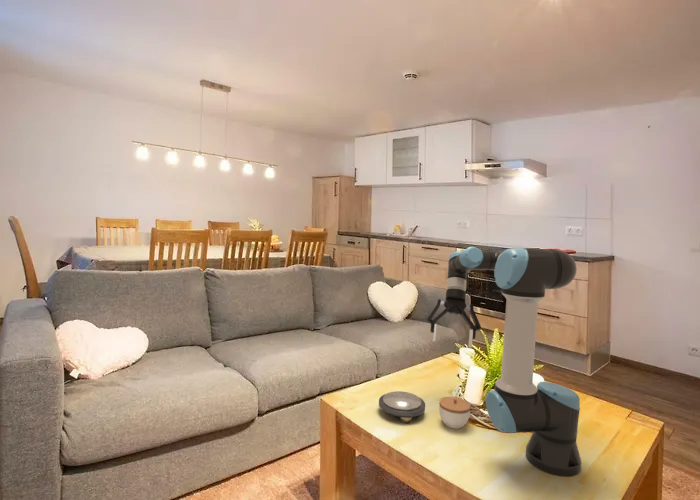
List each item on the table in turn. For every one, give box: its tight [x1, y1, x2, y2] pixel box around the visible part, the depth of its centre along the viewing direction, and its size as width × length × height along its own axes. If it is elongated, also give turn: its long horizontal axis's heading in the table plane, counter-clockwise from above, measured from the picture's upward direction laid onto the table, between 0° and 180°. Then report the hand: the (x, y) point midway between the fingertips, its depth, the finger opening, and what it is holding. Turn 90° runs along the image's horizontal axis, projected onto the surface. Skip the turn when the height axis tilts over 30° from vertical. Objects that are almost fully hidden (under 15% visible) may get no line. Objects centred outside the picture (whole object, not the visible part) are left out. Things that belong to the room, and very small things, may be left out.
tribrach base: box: [378, 390, 426, 424], centre depth 155 cm, size 17×17×5 cm
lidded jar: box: [438, 396, 472, 430], centre depth 147 cm, size 11×11×9 cm
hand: (451, 344), depth 158 cm, fingers open, 13 cm apart
